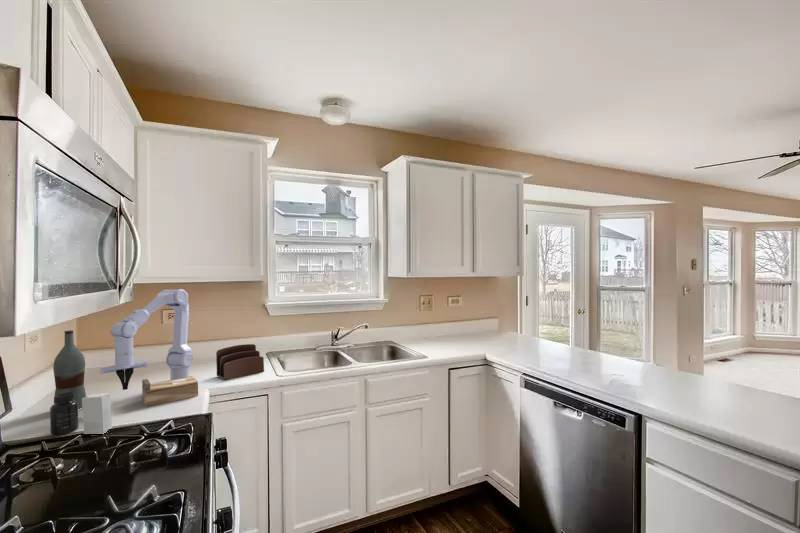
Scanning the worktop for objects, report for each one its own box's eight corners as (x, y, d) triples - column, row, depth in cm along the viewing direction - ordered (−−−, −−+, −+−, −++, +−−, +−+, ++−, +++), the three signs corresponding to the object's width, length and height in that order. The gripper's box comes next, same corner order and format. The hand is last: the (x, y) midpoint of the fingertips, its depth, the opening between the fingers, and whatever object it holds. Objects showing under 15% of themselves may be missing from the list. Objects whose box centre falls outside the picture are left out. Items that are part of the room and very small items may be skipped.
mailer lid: (142, 386, 152) (141, 379, 152) (191, 377, 163) (191, 370, 163) (145, 392, 143) (145, 384, 143) (197, 382, 155) (197, 375, 155)
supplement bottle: (49, 431, 122) (49, 394, 122) (77, 425, 127) (77, 389, 127) (50, 438, 117) (50, 399, 117) (79, 431, 122) (78, 393, 122)
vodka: (46, 414, 138) (45, 333, 139) (67, 406, 147) (65, 329, 148) (73, 413, 139) (72, 332, 139) (92, 404, 148) (90, 328, 148)
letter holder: (216, 377, 184) (215, 348, 184) (255, 368, 198) (255, 342, 198) (224, 380, 177) (223, 350, 177) (264, 371, 191) (263, 344, 191)
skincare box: (112, 429, 122) (111, 392, 122) (103, 435, 117) (102, 396, 118) (92, 431, 121) (91, 393, 122) (81, 437, 117) (81, 398, 117)
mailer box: (142, 399, 152) (142, 387, 152) (192, 389, 163) (191, 378, 163) (146, 406, 143) (145, 393, 143) (198, 395, 155) (198, 383, 155)
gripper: (100, 358, 136) (101, 395, 136) (148, 351, 146) (149, 386, 145) (99, 355, 141) (100, 391, 141) (145, 349, 151) (146, 383, 151)
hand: (125, 389), depth 144 cm, fingers closed
